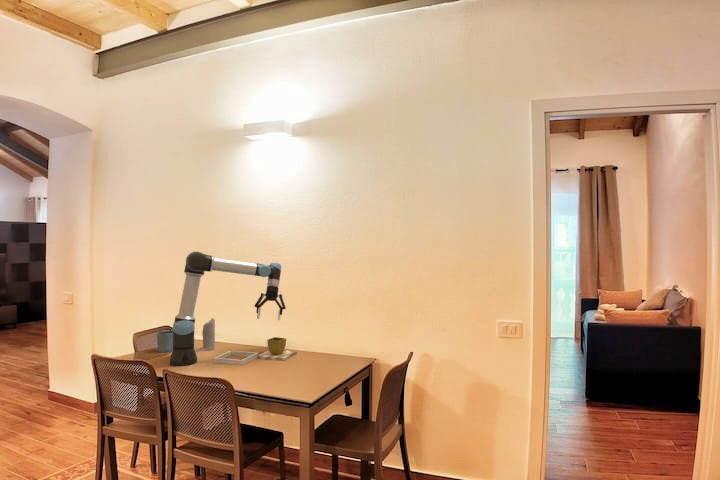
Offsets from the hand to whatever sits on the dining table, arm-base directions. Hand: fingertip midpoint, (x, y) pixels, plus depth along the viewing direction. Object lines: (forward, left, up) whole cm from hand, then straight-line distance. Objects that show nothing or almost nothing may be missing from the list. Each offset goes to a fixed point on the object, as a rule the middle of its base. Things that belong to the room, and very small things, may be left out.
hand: (268, 319), depth 282 cm
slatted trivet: (+10, -8, -21) cm, 24 cm away
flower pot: (+10, -8, -20) cm, 23 cm away
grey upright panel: (-44, -5, -21) cm, 49 cm away
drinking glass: (-66, -14, -21) cm, 71 cm away
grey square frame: (-10, -22, -21) cm, 32 cm away
